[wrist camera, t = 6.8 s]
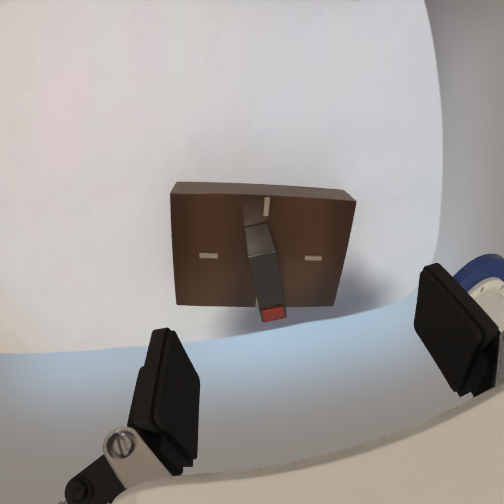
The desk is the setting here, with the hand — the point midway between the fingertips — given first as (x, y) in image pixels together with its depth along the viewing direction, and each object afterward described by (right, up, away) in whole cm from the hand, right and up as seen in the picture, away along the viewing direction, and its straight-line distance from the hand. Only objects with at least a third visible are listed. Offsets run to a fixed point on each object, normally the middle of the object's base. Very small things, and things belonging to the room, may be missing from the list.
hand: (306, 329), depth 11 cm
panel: (-1, +4, +16) cm, 17 cm away
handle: (-1, +2, +14) cm, 14 cm away
